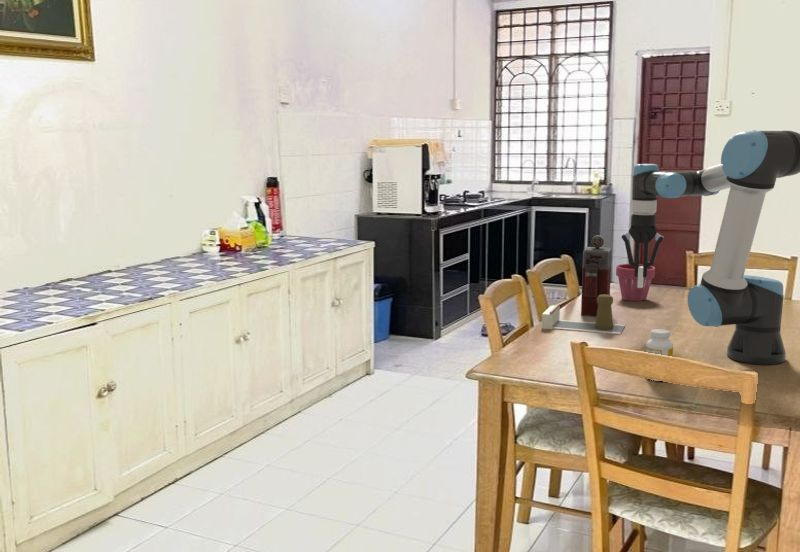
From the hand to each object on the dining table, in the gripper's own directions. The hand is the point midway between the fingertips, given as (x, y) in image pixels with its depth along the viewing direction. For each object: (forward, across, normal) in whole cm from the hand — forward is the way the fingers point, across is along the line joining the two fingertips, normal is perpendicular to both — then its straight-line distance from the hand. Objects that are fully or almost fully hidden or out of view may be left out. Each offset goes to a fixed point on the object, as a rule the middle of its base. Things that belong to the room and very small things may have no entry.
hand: (640, 286), depth 253 cm
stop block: (+15, +28, 0) cm, 32 cm away
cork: (+15, +11, 0) cm, 18 cm away
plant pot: (+15, +7, -52) cm, 54 cm away
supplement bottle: (+14, -10, +50) cm, 53 cm away
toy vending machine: (+15, +17, -20) cm, 30 cm away
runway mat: (+15, +16, 0) cm, 22 cm away
